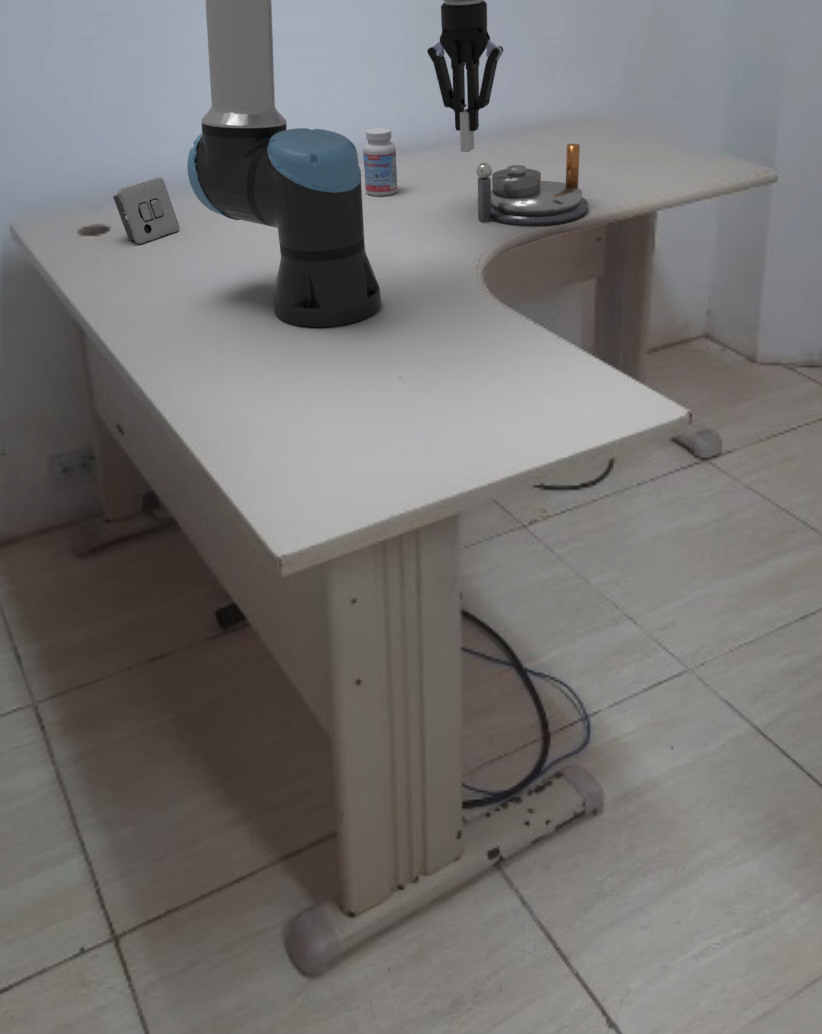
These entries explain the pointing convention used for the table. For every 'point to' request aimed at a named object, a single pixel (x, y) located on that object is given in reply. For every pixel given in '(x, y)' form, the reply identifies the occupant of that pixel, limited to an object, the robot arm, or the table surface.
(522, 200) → the platter
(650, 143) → the table surface
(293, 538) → the table surface
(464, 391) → the table surface
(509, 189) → the cover
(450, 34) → the robot arm
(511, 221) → the turntable base
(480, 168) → the post
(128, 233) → the electrical switch
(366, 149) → the pill bottle
